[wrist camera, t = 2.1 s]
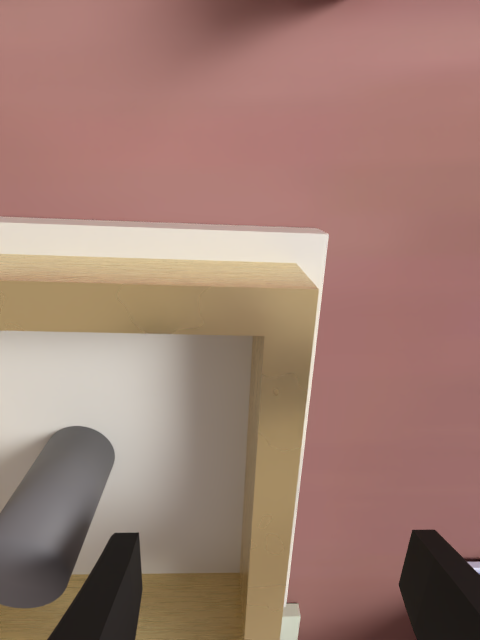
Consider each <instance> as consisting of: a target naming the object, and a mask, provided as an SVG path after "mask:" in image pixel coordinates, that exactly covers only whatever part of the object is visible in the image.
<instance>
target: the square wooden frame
mask: <svg viewBox="0 0 480 640" xmlns="http://www.w3.org/2000/svg"><path fill="white" fill-rule="evenodd" d="M318 294H319V289H318V288H317V286H316V285H315V284H314V283H313V282H312V281H311V280H310V278H309V277H308V276H307V275H306V274H305V273H304V272H303V270H302V269H301V268H300V267H299V266H298V265H297V264H296V263H276V262H244V261H213V260H181V259H149V258H117V257H86V256H54V255H22V254H0V331H46V332H92V333H139V334H186V335H233V336H253V341H252V359H251V377H250V395H249V413H248V431H247V449H246V467H245V485H244V504H243V522H242V540H241V558H240V573H163V574H142V587H143V590H142V597H141V604H140V611H139V618H138V624H137V631H136V637H135V640H280V634H281V625H282V616H283V607H284V598H285V589H286V580H287V571H288V562H289V553H290V544H291V535H292V527H293V518H294V509H295V500H296V491H297V482H298V473H299V464H300V455H301V446H302V437H303V428H304V419H305V410H306V402H307V393H308V384H309V375H310V366H311V357H312V348H313V339H314V330H315V321H316V312H317V303H318ZM88 576H89V574H73V575H71V577H70V580H69V582H68V585H67V588H66V589H65V591H64V593H63V594H62V595H61V596H60V597H59V598H58V599H56V600H55V601H53V602H51V603H49V604H47V605H44V606H40V607H36V608H13V607H8V606H4V605H1V604H0V640H47V639H48V637H49V636H50V635H51V633H52V632H53V630H54V629H55V627H56V626H57V624H58V623H59V622H60V620H61V618H62V617H63V615H64V614H65V612H66V611H67V609H68V608H69V606H70V605H71V603H72V601H73V600H74V598H75V597H76V595H77V594H78V592H79V591H80V589H81V587H82V586H83V584H84V583H85V581H86V579H87V578H88Z"/></svg>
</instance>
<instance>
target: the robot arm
mask: <svg viewBox="0 0 480 640" xmlns="http://www.w3.org/2000/svg"><path fill="white" fill-rule="evenodd" d="M399 587H400V591H401V594H402V597H403V600H404V603H405V607H406V610H407V613H408V616H409V619H410V622H411V625H412V627H413V630H414V633H415V635H416V638H417V640H480V562H466V561H465V560H464V559H463V557H462V556H461V555H460V554H459V553H458V552H457V551H456V550H455V549H454V548H453V547H452V546H451V545H450V544H449V543H448V542H447V541H446V540H445V539H444V538H443V537H442V536H441V535H439V534H438V533H437V532H436V531H435V530H412V534H411V538H410V542H409V546H408V550H407V553H406V557H405V561H404V565H403V569H402V573H401V577H400V581H399ZM142 590H143V587H142V571H141V555H140V539H139V532H138V533H114V534H113V535H112V536H111V537H110V539H109V541H108V543H107V544H106V546H105V548H104V550H103V552H102V554H101V555H100V557H99V559H98V561H97V562H96V564H95V566H94V568H93V569H92V571H91V573H90V574H89V576H88V578H87V579H86V581H85V583H84V584H83V586H82V587H81V589H80V591H79V592H78V594H77V595H76V597H75V598H74V600H73V601H72V603H71V605H70V606H69V608H68V609H67V611H66V612H65V614H64V615H63V617H62V618H61V620H60V622H59V623H58V624H57V626H56V627H55V629H54V630H53V632H52V633H51V635H50V636H49V637H48V639H47V640H135V637H136V631H137V624H138V618H139V611H140V604H141V597H142Z"/></svg>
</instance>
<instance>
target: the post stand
mask: <svg viewBox="0 0 480 640" xmlns="http://www.w3.org/2000/svg"><path fill="white" fill-rule="evenodd" d="M328 237H329V234H328V233H326V232H324V231H322V230H320V229H318V228H299V227H272V226H245V225H217V224H190V223H162V222H135V221H107V220H80V219H52V218H25V217H0V254H22V255H54V256H86V257H117V258H149V259H181V260H213V261H244V262H276V263H296V264H297V265H298V266H299V267H300V268H301V269H302V270H303V272H304V273H305V274H306V275H307V276H308V277H309V278H310V280H311V281H312V282H313V283H314V284H315V285H316V286H317V288H318V289H319V294H318V303H317V312H316V321H315V330H314V339H313V348H312V357H311V366H310V375H309V384H308V393H307V402H306V410H305V419H304V428H303V437H302V446H301V455H300V464H299V473H298V482H297V491H296V500H295V509H294V518H293V527H292V535H291V544H290V553H289V562H288V571H287V580H286V589H285V598H284V607H286V602H287V593H288V585H289V576H290V567H291V558H292V550H293V541H294V532H295V524H296V515H297V506H298V498H299V489H300V480H301V472H302V463H303V454H304V445H305V437H306V428H307V419H308V411H309V402H310V393H311V385H312V376H313V367H314V359H315V350H316V341H317V332H318V324H319V315H320V306H321V298H322V289H323V280H324V272H325V263H326V254H327V246H328ZM252 341H253V336H233V335H186V334H139V333H92V332H46V331H0V604H1V605H4V606H8V607H13V608H36V607H40V606H44V605H47V604H49V603H51V602H53V601H55V600H56V599H58V598H59V597H60V596H61V595H62V594H63V593H64V591H65V589H66V588H67V585H68V582H69V580H70V577H71V575H73V574H90V573H91V571H92V569H93V568H94V566H95V564H96V562H97V561H98V559H99V557H100V555H101V554H102V552H103V550H104V548H105V546H106V544H107V543H108V541H109V539H110V537H111V536H112V535H113V534H114V533H138V532H139V539H140V555H141V571H142V574H163V573H240V558H241V540H242V522H243V504H244V485H245V467H246V449H247V431H248V413H249V395H250V377H251V359H252Z"/></svg>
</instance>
